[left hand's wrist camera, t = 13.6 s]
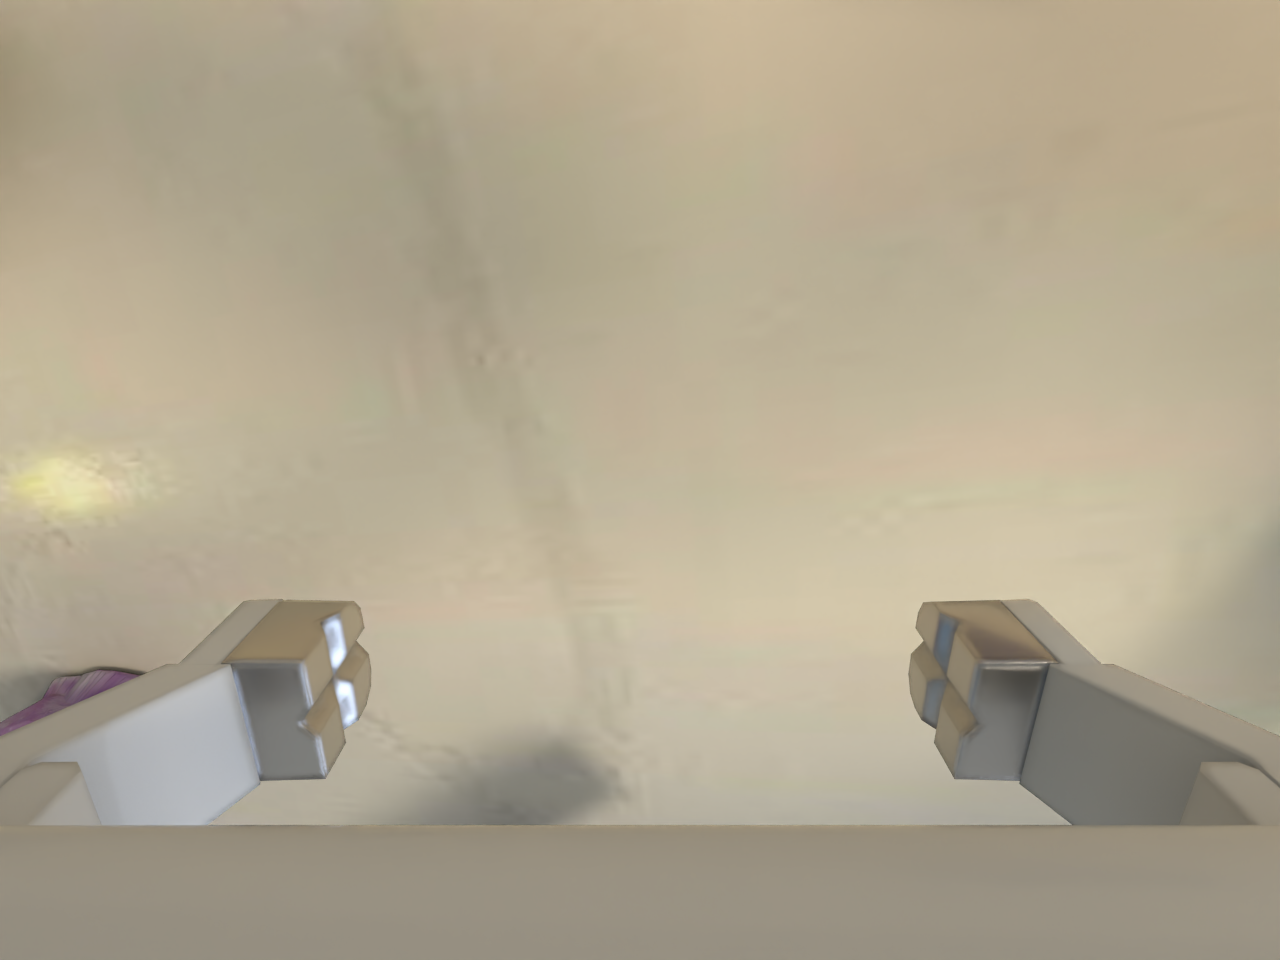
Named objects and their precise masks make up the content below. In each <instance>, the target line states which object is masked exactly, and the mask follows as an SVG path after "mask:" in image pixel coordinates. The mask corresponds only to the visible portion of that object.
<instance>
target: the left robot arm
mask: <svg viewBox="0 0 1280 960" xmlns="http://www.w3.org/2000/svg"><path fill="white" fill-rule="evenodd" d="M363 629H364V623H363V618H362V613H361V608H360V607H359V606H358V605H357V604H356V603H355V602H354V601H321V600H283V599H270V600H249V601H244V602H242V603H241V604H240V605H239V606H238V607H237V608H236V609H235V610H234V611H233V612H232V613H231V614H230V615H229V616H228V617H227V618H226V619H225V620H224V621H223V622H222V623H221V624H220V625H219V626H218V627H216V628H215V629H214V630H213V631H212V632H211V633H210V634H209V635H208V636H207V637H206V638H205V639H204V640H203V641H202V642H201V643H200V644H199V645H198V646H197V647H196V648H195V649H194V650H193V651H192V652H191V653H189V654H188V655H187V656H186V657H185V658H184V659H183V660H182V661H181V662H180V663H179V664H166V665H164V666H161V667H159V668H157V669H154V670H152V671H150V672H148V673H145V674H143V675H141V676H138V677H136V678H134V679H131V680H129V681H127V682H124V683H122V684H120V685H117V686H115V687H113V688H111V689H108V690H106V691H104V692H101V693H99V694H97V695H94V696H92V697H90V698H87V699H85V700H83V701H80V702H78V703H76V704H74V705H71V706H69V707H67V708H64V709H62V710H60V711H57V712H55V713H53V714H50V715H48V716H46V717H43V718H41V719H39V720H37V721H34V722H32V723H30V724H27V725H25V726H23V727H20V728H18V729H16V730H13V731H11V732H9V733H6V734H4V735H2V736H0V960H1280V736H1278V735H1275V734H1273V733H1271V732H1269V731H1266V730H1264V729H1262V728H1259V727H1257V726H1255V725H1252V724H1250V723H1248V722H1245V721H1243V720H1241V719H1239V718H1236V717H1234V716H1232V715H1229V714H1227V713H1225V712H1222V711H1220V710H1218V709H1215V708H1213V707H1211V706H1209V705H1206V704H1204V703H1202V702H1199V701H1197V700H1195V699H1192V698H1190V697H1188V696H1185V695H1183V694H1181V693H1179V692H1176V691H1174V690H1172V689H1169V688H1167V687H1165V686H1162V685H1160V684H1158V683H1155V682H1153V681H1151V680H1149V679H1146V678H1144V677H1142V676H1139V675H1137V674H1135V673H1132V672H1130V671H1128V670H1126V669H1123V668H1121V667H1119V666H1116V665H1114V664H1101V663H1100V662H1099V661H1098V660H1097V659H1096V658H1095V657H1094V656H1093V655H1092V654H1091V653H1090V652H1089V651H1087V650H1086V649H1085V648H1084V647H1083V646H1082V645H1081V644H1080V643H1079V642H1078V641H1077V640H1076V639H1075V638H1074V637H1073V636H1072V635H1071V634H1070V633H1069V632H1068V631H1067V630H1066V629H1065V628H1064V627H1063V626H1062V625H1061V624H1060V623H1058V622H1057V621H1056V620H1055V619H1054V618H1053V617H1052V616H1051V615H1050V614H1049V613H1048V612H1047V611H1046V610H1045V609H1044V608H1043V607H1042V606H1041V605H1040V604H1039V603H1038V602H1035V601H1032V600H1029V599H1016V600H984V601H943V602H924V603H923V604H922V606H921V608H920V610H919V612H918V617H917V622H916V629H917V631H918V632H919V634H920V636H921V637H922V639H923V640H924V641H923V642H922V644H921V645H920V646H919V647H918V648H917V649H916V650H915V651H914V652H913V653H912V654H911V659H910V667H909V685H910V694H911V697H912V700H913V703H914V707H915V709H916V711H917V712H918V714H919V716H920V718H921V720H922V721H924V722H926V723H927V724H929V725H930V726H932V727H933V728H935V729H936V735H935V740H934V743H935V745H936V747H937V749H938V750H939V752H940V754H941V756H942V757H943V759H944V761H945V763H946V765H947V766H948V768H949V770H950V772H951V773H952V775H953V777H954V779H975V780H1011V781H1020V783H1019V784H1021V785H1022V786H1023V787H1024V788H1026V789H1027V790H1028V791H1030V792H1031V793H1032V794H1033V795H1035V796H1036V797H1037V798H1039V799H1040V800H1041V801H1043V802H1044V803H1045V804H1046V805H1048V806H1049V807H1050V808H1052V809H1053V810H1054V811H1055V812H1057V813H1058V814H1059V815H1061V816H1062V817H1063V818H1064V819H1066V820H1067V821H1068V822H1070V823H1071V824H1072V825H208V824H209V823H211V822H212V821H213V820H214V819H216V818H217V817H218V816H220V815H221V814H222V813H224V812H225V811H226V810H227V809H229V808H230V807H231V806H233V805H234V804H235V803H236V802H238V801H239V800H240V799H242V798H243V797H244V796H245V795H247V794H248V793H249V792H251V791H252V790H253V789H255V788H256V787H257V786H258V785H260V781H269V780H304V779H326V777H327V775H328V773H329V772H330V770H331V768H332V766H333V765H334V763H335V761H336V759H337V758H338V756H339V754H340V752H341V750H342V749H343V747H344V745H345V743H346V740H345V735H344V729H345V728H347V727H348V726H350V725H351V724H353V723H354V722H356V721H358V720H359V718H360V716H361V714H362V712H363V710H364V709H365V707H366V704H367V700H368V696H369V692H370V687H371V665H370V658H369V654H368V653H367V652H366V651H365V650H364V649H363V648H362V647H361V646H360V645H359V644H358V642H357V641H356V640H357V639H358V637H359V636H360V634H361V632H362V631H363Z"/></svg>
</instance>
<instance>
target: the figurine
mask: <svg viewBox="0 0 1280 960" xmlns="http://www.w3.org/2000/svg"><path fill="white" fill-rule="evenodd" d="M138 676H141V675H136V674H130V673H125V672H119V671H110V670H100V669H99V670H96V671H93V672H90V673H86V674H83V675H82V676H64V677H59V678H56V679H55V680H54V681H52V683H51V685H50V686H49V688H48V690H47V692H46V693H45V695H44V697H43V699H42V700H40V701H38V702H37V703H35V704H33V705H31V706H30V707H28V708H26V709H24V710H22V711H20V712H18V713H16V714H15V715H13V716H11V717H9V718H8V719H6V720H4V721H2V722H1V723H0V736H2V735H4V734H6V733H9V732H11V731H13V730H16V729H18V728H20V727H23V726H25V725H27V724H30V723H32V722H34V721H37V720H39V719H41V718H43V717H46V716H48V715H50V714H53V713H55V712H57V711H60V710H62V709H64V708H67V707H69V706H71V705H74V704H76V703H78V702H80V701H83V700H85V699H87V698H90V697H92V696H94V695H97V694H99V693H101V692H104V691H106V690H108V689H111V688H113V687H115V686H117V685H120V684H122V683H124V682H127V681H129V680H131V679H134V678H136V677H138Z"/></svg>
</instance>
